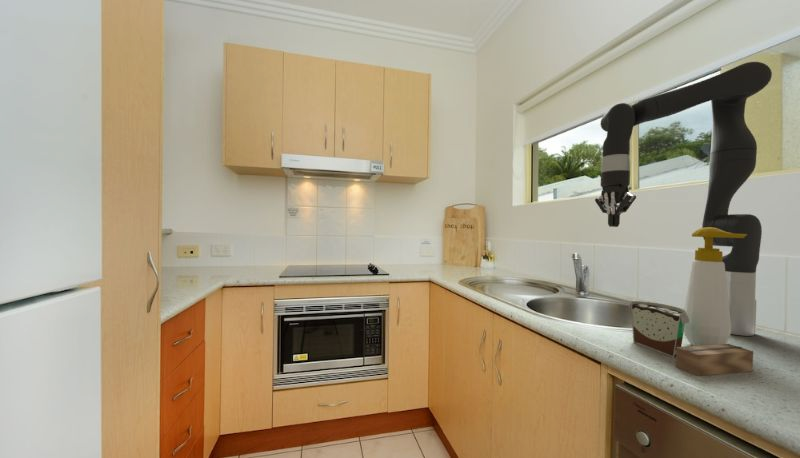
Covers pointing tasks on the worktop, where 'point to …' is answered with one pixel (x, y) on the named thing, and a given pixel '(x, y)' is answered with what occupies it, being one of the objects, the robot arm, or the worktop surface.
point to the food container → (658, 326)
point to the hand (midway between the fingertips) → (613, 226)
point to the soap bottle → (708, 293)
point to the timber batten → (714, 359)
